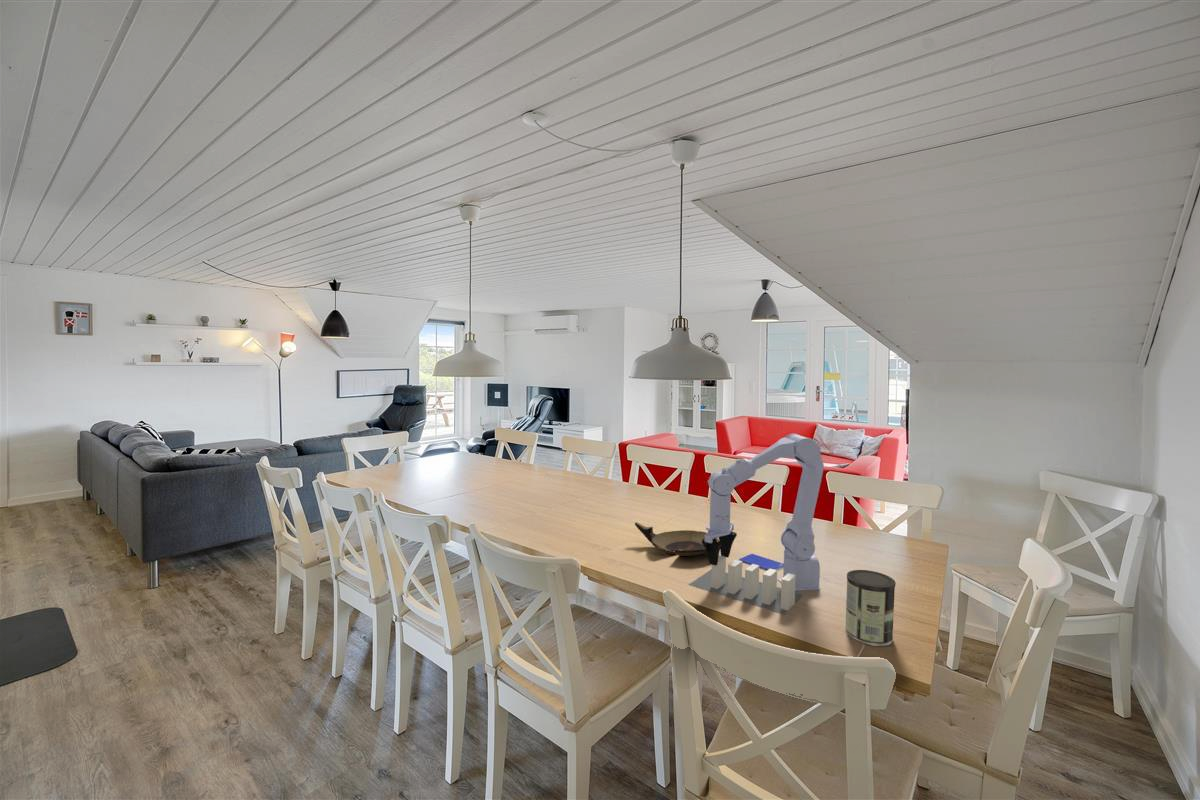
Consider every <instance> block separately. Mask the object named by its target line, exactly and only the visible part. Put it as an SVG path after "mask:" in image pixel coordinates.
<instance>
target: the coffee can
mask: <svg viewBox="0 0 1200 800" xmlns="http://www.w3.org/2000/svg"><path fill="white" fill-rule="evenodd" d="M895 589H896V581H895V579H894V578H892V577H891V576H889V575H887V574H884V573H882V572H878V571H874V570H867V569H853V570H850V571H848V572H847V573H846V600H845V601H846V604H845V605H846V607H845V632H846V633H847V635H848V636H849V637H851V638H853V639H855V641H856V640H857V641H859V642H861V643H863V644H864V645H867V646H872V647H886V646H889V645H892V643H893V641H894V639H893V636H894V608H895V593H896V592H895Z"/></svg>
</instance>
